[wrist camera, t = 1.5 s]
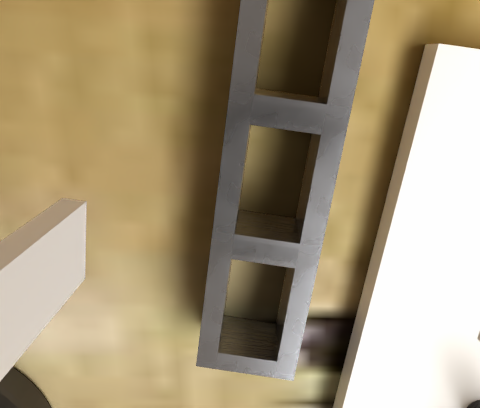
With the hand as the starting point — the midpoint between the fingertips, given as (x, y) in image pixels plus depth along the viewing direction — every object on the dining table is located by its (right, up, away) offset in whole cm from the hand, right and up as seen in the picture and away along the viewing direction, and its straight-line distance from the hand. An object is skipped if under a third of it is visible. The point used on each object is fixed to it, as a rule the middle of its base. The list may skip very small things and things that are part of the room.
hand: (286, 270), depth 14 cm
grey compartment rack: (+1, +4, +13) cm, 14 cm away
